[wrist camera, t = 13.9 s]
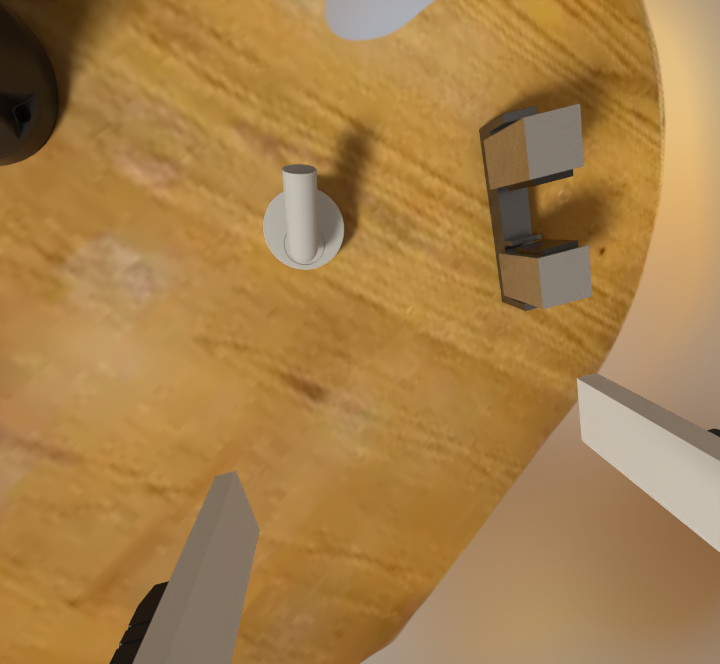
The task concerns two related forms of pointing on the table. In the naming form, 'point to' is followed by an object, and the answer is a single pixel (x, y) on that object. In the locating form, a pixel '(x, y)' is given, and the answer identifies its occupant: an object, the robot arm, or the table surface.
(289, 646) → the table surface
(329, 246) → the wall hook
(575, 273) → the light grey block
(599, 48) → the table surface
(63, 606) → the table surface
